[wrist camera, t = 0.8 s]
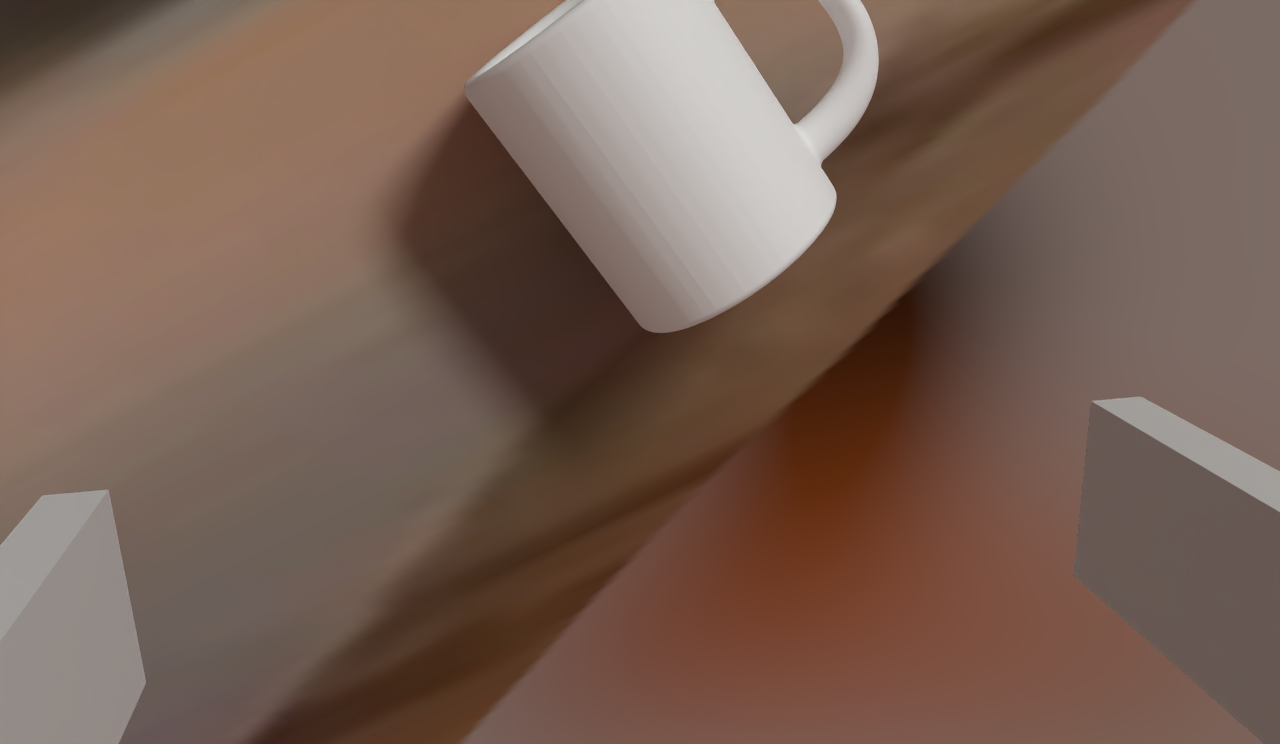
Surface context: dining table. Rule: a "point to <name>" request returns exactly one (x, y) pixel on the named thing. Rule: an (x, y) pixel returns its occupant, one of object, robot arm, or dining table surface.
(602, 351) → the dining table surface
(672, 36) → the mug
